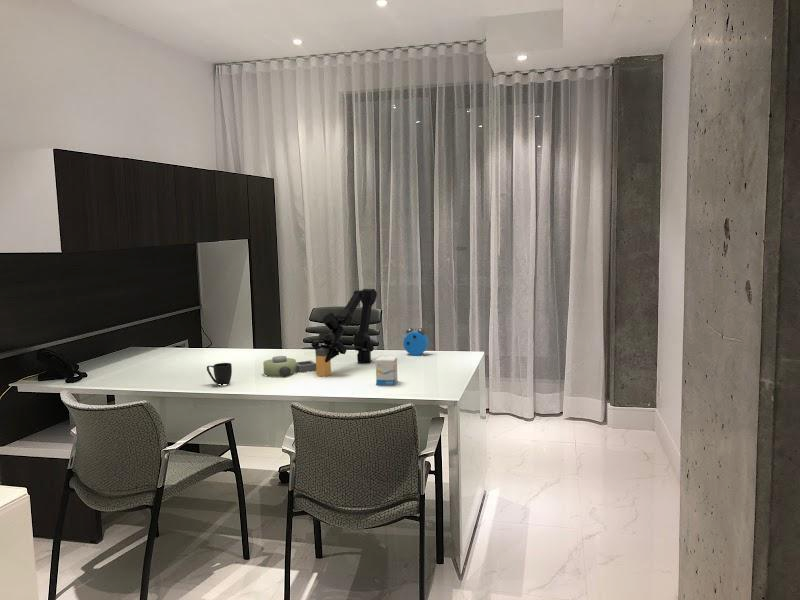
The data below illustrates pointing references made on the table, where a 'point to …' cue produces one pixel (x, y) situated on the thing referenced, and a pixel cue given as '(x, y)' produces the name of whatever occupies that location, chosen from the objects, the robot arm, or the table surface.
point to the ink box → (386, 370)
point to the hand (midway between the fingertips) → (321, 361)
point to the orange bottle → (322, 362)
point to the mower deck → (286, 366)
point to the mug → (221, 373)
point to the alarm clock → (415, 341)
